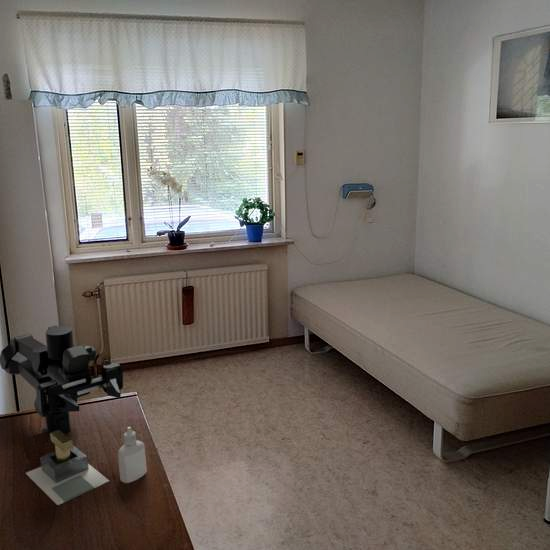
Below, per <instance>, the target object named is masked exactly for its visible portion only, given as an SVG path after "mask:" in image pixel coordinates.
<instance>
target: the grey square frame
mask: <svg viewBox="0 0 550 550" xmlns="http://www.w3.org/2000/svg"><path fill="white" fill-rule="evenodd" d="M70 455H71V460H69V461H66V462H64V463H61V464H59V465H57V457H56V450H55V451H52V452H50V453H48V454H44V455H42V456H41V457H39V459H40V467H41V468H42V471H43V472H44V473H46V474H47V475H48V476H49V477H50V478H51V479H52V480H53V481H54V482H55V483H58V482H60V481H62V480H65V479H67V478H69V477H71V476H74V475H76V474H78V473H81V472H83V471H85V470H87V469H89V467H88V464H89V461H88V455H86V454H85V453H84V452H83V451H81V450H80V449H78V448H77V447H76V446H75V445H74V444H73V448H71V449H70Z"/></svg>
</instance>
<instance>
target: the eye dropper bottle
mask: <svg viewBox="0 0 550 550" xmlns="http://www.w3.org/2000/svg"><path fill="white" fill-rule="evenodd" d="M123 442H124V444H122V445H121V447H120V448H119V449H118V452H117V459H118V460H117V461H118V471H119V480H120V481H121V482H122V483H124V484H129V483H131V482H134V481H137V480H139V479H140V478H142V477H143V476H144V475H146V473H148V469H147V468H148V467H147V457H146V449H145V443H144V442H143V441H141V440H138V439H137V432H136V431H135V430H132V427H131V426H128V427H127V429H126V431H125V432H124V433H123Z"/></svg>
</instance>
